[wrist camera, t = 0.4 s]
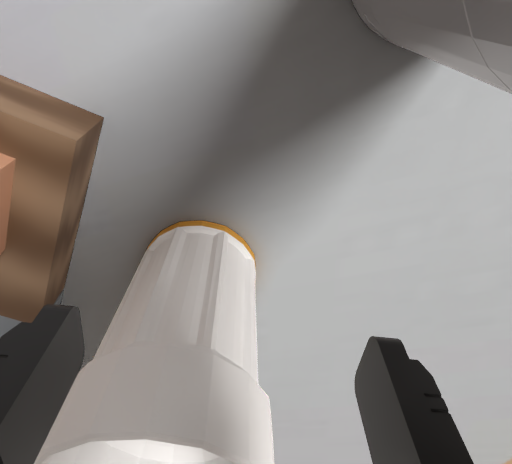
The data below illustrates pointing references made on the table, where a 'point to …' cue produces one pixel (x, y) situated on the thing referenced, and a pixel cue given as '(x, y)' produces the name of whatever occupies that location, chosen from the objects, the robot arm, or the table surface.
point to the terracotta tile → (5, 195)
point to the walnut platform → (42, 193)
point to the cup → (174, 363)
